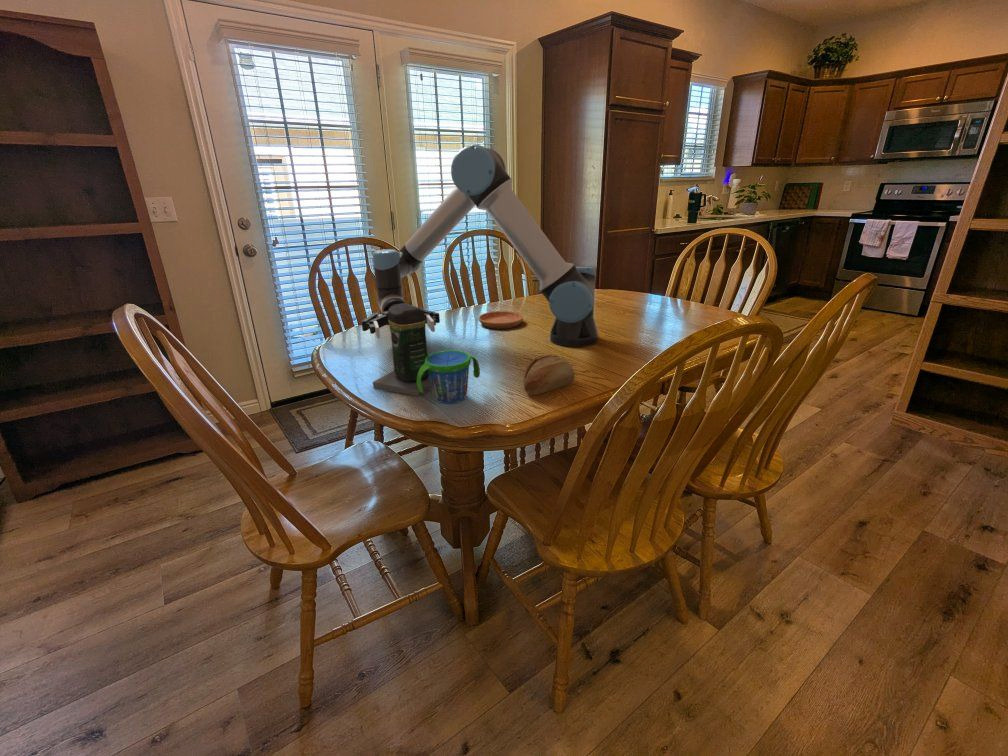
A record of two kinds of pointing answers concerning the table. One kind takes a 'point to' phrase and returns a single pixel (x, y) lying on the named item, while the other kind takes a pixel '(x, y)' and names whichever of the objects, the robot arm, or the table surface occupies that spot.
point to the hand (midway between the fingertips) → (406, 329)
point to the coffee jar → (408, 340)
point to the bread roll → (547, 374)
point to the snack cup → (448, 374)
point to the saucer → (501, 319)
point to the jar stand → (401, 385)
